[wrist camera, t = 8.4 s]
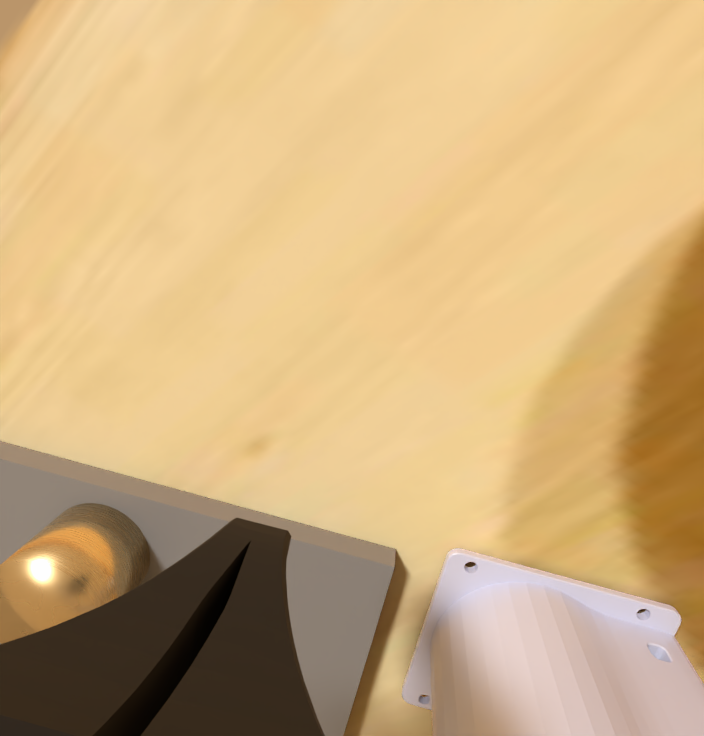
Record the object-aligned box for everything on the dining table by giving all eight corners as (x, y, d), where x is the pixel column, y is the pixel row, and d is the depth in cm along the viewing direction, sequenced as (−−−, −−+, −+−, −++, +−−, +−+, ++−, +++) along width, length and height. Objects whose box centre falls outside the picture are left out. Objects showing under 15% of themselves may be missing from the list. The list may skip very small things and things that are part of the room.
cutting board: (395, 549, 23) (394, 567, 22) (284, 919, 30) (278, 947, 28) (-54, 426, 24) (-78, 437, 22) (-61, 814, 30) (-80, 837, 29)
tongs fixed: (42, 486, 23) (-35, 541, 19) (157, 517, 22) (103, 580, 19) (15, 835, 29) (-47, 930, 25) (105, 862, 28) (57, 964, 25)
